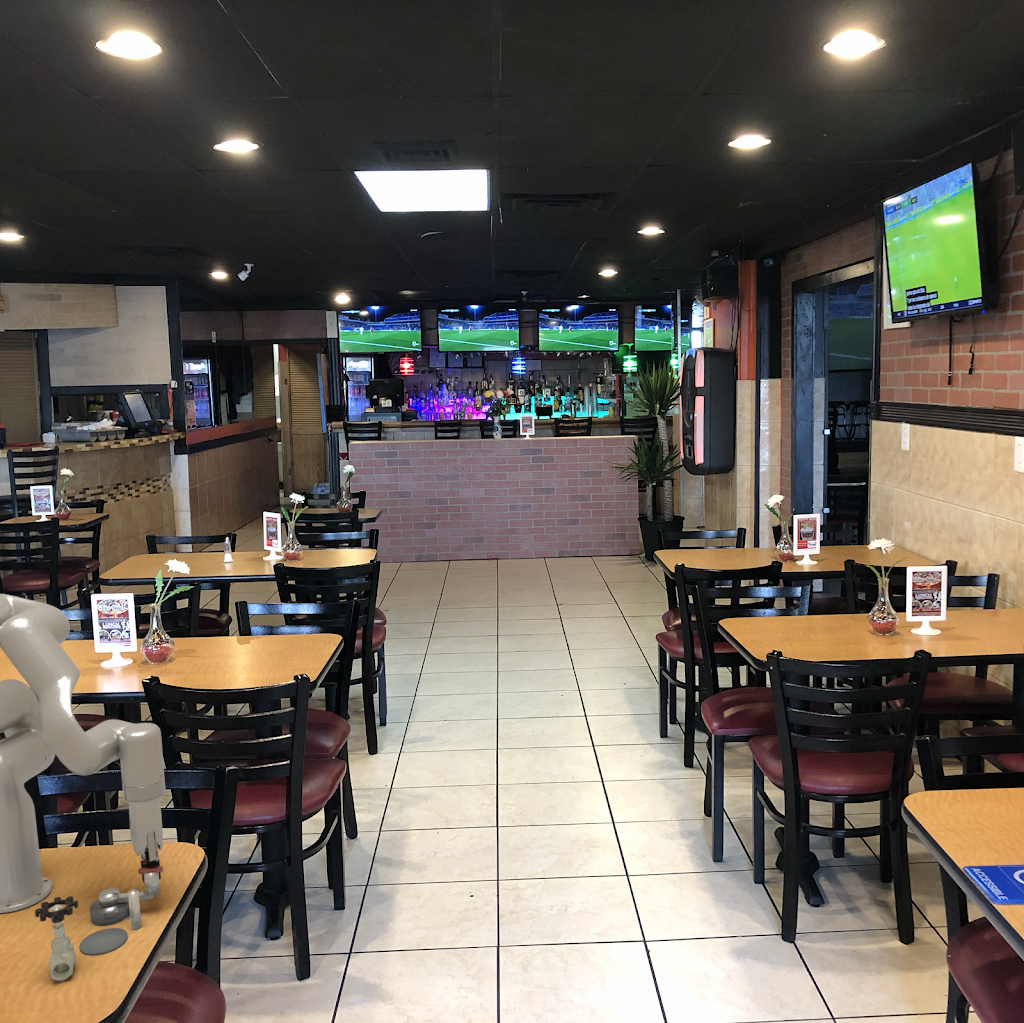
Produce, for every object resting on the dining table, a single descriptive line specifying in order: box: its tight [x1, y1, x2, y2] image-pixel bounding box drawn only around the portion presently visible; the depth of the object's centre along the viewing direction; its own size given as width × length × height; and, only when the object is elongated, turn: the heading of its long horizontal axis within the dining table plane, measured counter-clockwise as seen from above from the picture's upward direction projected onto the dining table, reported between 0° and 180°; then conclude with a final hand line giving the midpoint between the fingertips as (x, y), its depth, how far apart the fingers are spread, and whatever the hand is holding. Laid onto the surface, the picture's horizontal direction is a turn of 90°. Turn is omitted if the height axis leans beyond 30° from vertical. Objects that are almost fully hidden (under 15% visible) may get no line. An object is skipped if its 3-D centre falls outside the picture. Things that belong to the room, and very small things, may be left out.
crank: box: [98, 865, 164, 907], centre depth 176 cm, size 12×4×6 cm, turn 96°
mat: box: [78, 927, 129, 956], centre depth 167 cm, size 8×8×1 cm
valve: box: [34, 895, 79, 982], centre depth 158 cm, size 7×7×12 cm
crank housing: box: [89, 888, 142, 931], centre depth 175 cm, size 12×7×7 cm, turn 74°
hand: (151, 879), depth 180 cm, fingers closed
